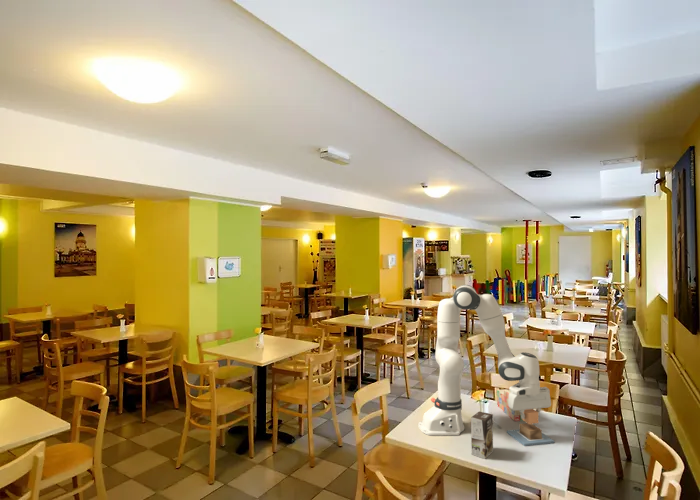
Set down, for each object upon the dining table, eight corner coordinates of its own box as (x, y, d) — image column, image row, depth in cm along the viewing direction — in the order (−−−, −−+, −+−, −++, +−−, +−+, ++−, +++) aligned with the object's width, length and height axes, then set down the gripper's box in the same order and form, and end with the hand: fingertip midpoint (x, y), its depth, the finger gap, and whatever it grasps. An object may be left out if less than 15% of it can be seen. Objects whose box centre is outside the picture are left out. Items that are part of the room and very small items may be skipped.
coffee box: (485, 459, 168) (485, 420, 168) (470, 454, 172) (470, 416, 172) (493, 451, 175) (493, 414, 175) (479, 446, 179) (479, 410, 179)
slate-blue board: (524, 446, 179) (524, 443, 179) (506, 432, 193) (506, 430, 193) (554, 443, 182) (554, 440, 182) (534, 429, 196) (534, 427, 196)
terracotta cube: (528, 423, 185) (528, 413, 185) (522, 419, 190) (521, 409, 190) (538, 423, 186) (538, 412, 186) (531, 418, 191) (531, 408, 191)
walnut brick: (530, 439, 183) (529, 431, 183) (519, 432, 191) (519, 423, 191) (541, 438, 184) (541, 429, 184) (530, 431, 192) (530, 422, 192)
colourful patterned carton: (496, 405, 228) (496, 384, 228) (507, 405, 228) (507, 383, 228) (514, 421, 206) (514, 397, 207) (526, 421, 207) (525, 397, 207)
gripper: (544, 384, 193) (545, 413, 193) (506, 387, 189) (506, 417, 189) (553, 388, 187) (554, 418, 187) (513, 392, 183) (514, 422, 183)
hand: (530, 417), depth 188 cm, fingers closed on terracotta cube, 5 cm apart
